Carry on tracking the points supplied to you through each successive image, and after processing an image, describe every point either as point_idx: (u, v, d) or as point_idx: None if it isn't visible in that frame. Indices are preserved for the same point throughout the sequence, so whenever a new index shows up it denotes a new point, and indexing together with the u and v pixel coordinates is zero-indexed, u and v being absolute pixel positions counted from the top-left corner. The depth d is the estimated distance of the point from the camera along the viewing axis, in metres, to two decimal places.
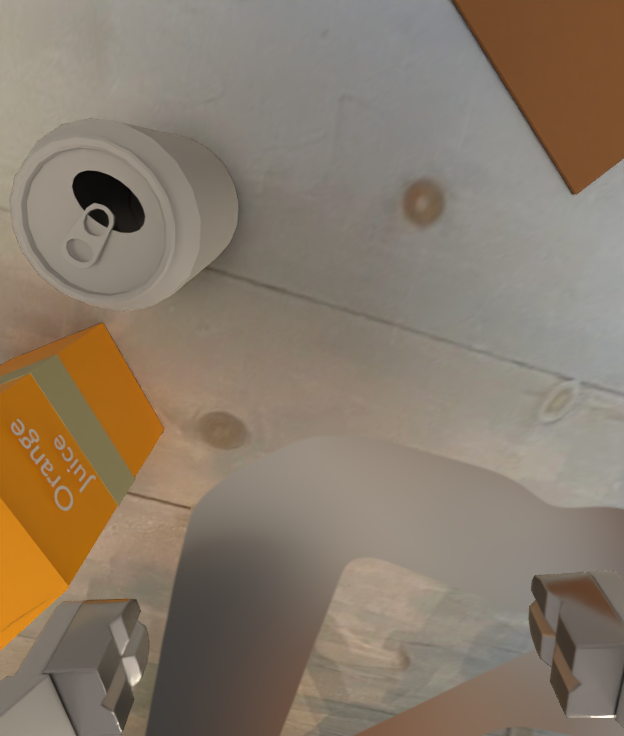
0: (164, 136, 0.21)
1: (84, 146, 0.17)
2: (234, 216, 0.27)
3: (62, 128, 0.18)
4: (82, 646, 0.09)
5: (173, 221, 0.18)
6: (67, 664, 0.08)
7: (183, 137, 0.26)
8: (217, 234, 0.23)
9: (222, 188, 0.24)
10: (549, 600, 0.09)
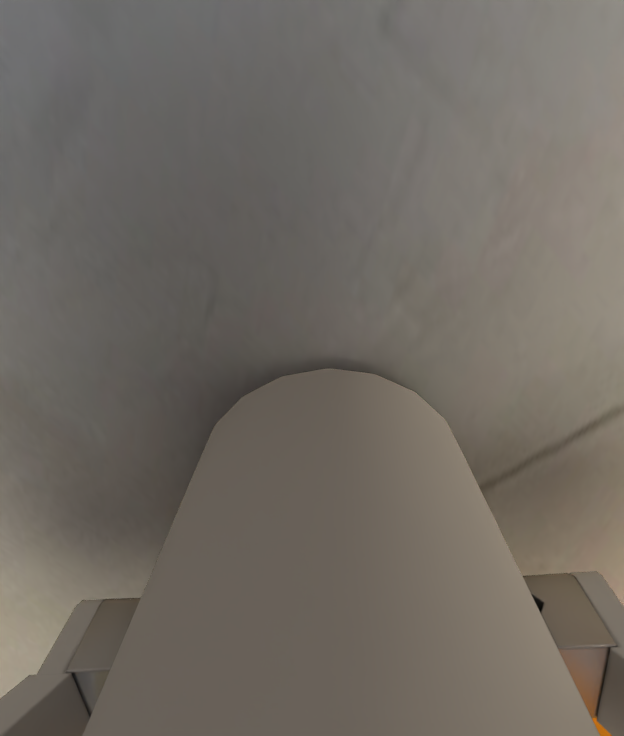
0: (213, 574, 0.07)
1: None
2: (440, 428, 0.11)
3: None
4: (103, 645, 0.09)
5: None
6: (89, 663, 0.08)
7: (239, 418, 0.11)
8: (528, 599, 0.07)
9: (401, 455, 0.09)
10: None
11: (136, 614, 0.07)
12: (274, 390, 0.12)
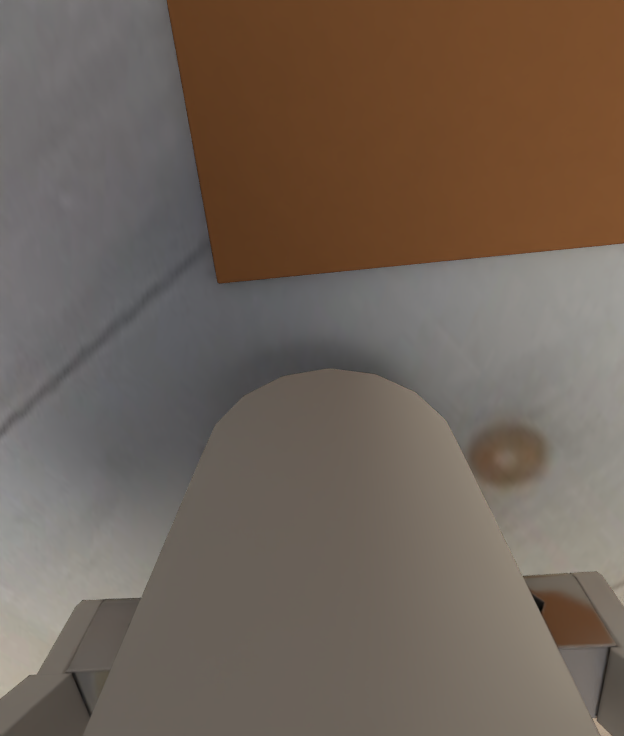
0: (214, 574, 0.07)
1: None
2: (440, 428, 0.11)
3: None
4: (103, 645, 0.09)
5: None
6: (89, 663, 0.08)
7: (240, 418, 0.11)
8: (529, 599, 0.07)
9: (402, 455, 0.09)
10: None
11: (137, 614, 0.07)
12: (275, 390, 0.12)
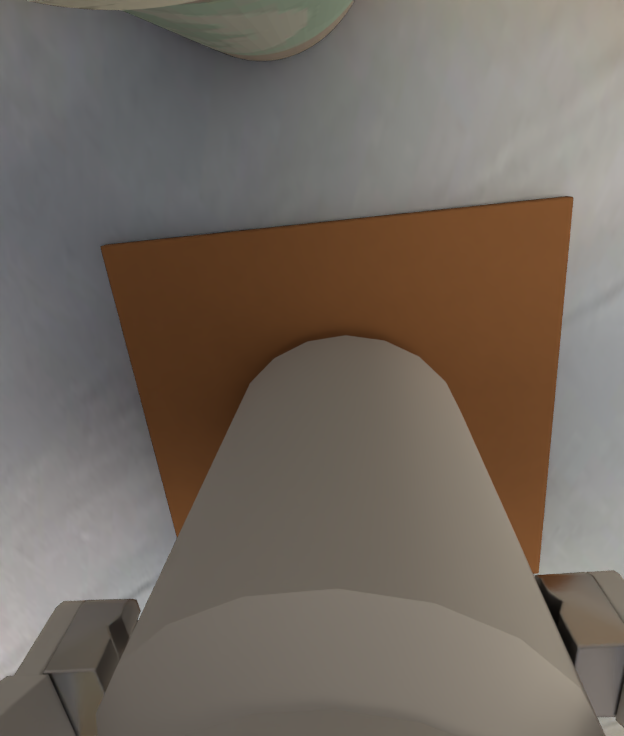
0: (254, 465, 0.09)
1: None
2: (439, 385, 0.14)
3: (101, 729, 0.07)
4: (82, 646, 0.09)
5: None
6: (67, 664, 0.08)
7: (271, 373, 0.14)
8: (493, 498, 0.09)
9: (401, 396, 0.11)
10: (549, 600, 0.09)
11: (195, 501, 0.10)
12: (300, 351, 0.14)
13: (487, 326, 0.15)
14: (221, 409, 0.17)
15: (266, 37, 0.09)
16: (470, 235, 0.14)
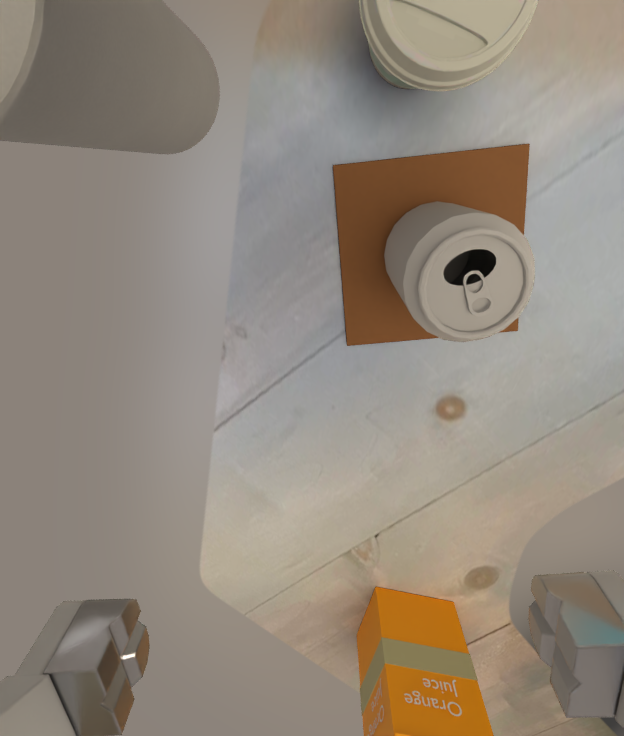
0: (432, 216, 0.29)
1: (440, 254, 0.26)
2: None
3: (410, 263, 0.27)
4: (82, 646, 0.09)
5: (513, 237, 0.25)
6: (67, 664, 0.08)
7: (411, 213, 0.34)
8: None
9: None
10: (549, 600, 0.09)
11: (408, 234, 0.30)
12: (420, 206, 0.34)
13: (495, 200, 0.36)
14: (375, 243, 0.37)
15: None
16: (488, 159, 0.35)
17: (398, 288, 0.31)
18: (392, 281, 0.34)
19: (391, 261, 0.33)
